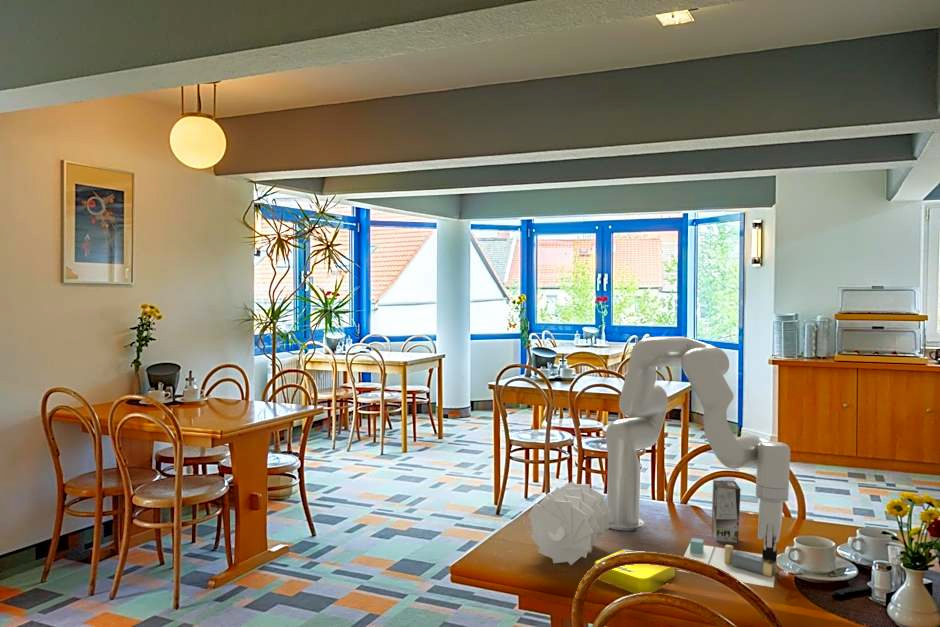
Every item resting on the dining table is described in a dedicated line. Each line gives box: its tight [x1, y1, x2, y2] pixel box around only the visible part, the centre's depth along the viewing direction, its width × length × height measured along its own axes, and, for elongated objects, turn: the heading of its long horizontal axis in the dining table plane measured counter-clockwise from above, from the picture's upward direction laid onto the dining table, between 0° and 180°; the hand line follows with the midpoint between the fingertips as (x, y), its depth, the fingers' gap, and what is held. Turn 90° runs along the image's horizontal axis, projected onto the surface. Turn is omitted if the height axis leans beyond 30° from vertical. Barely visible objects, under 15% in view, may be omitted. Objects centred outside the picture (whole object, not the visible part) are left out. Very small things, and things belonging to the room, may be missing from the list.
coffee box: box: [711, 479, 742, 543], centre depth 208 cm, size 9×6×16 cm
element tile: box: [593, 548, 676, 594], centre depth 178 cm, size 15×15×5 cm
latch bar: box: [732, 550, 778, 577], centre depth 182 cm, size 10×3×3 cm, turn 45°
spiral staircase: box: [527, 480, 611, 566], centre depth 195 cm, size 18×18×25 cm
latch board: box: [676, 537, 776, 589], centre depth 187 cm, size 22×23×6 cm
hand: (769, 565), depth 183 cm, fingers closed
